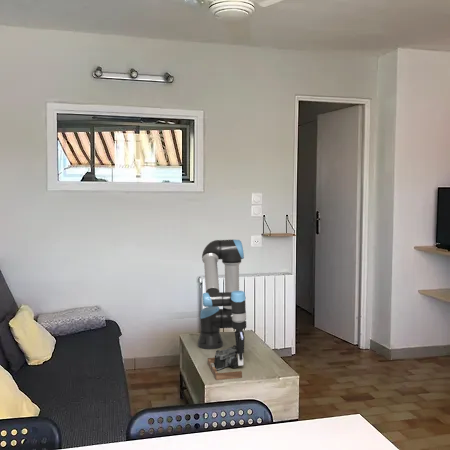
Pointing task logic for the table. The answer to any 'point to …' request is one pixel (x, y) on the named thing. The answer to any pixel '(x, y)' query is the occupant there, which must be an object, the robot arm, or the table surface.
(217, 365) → the camera
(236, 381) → the table surface
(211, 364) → the dock
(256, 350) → the table surface
